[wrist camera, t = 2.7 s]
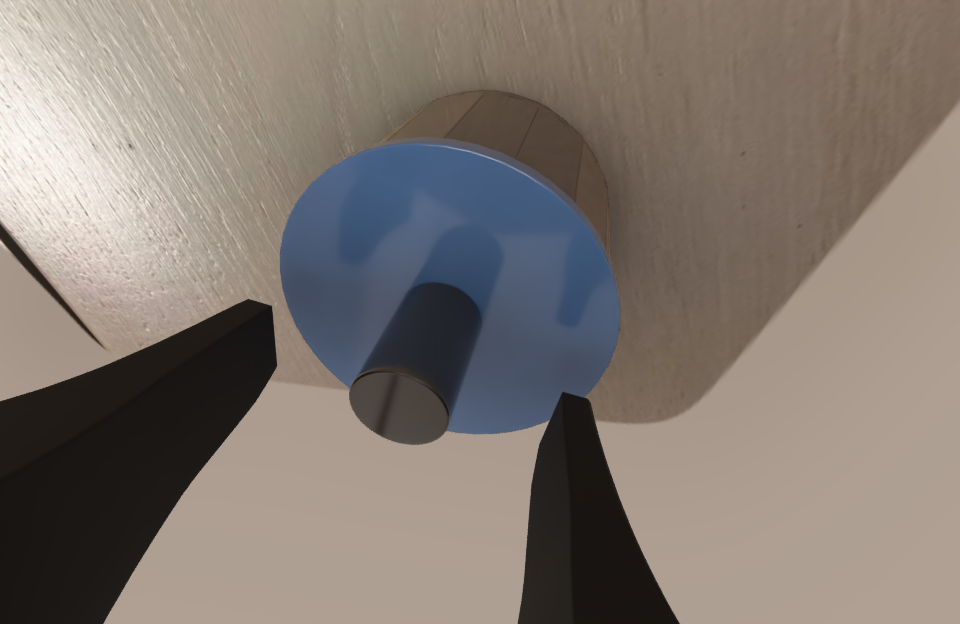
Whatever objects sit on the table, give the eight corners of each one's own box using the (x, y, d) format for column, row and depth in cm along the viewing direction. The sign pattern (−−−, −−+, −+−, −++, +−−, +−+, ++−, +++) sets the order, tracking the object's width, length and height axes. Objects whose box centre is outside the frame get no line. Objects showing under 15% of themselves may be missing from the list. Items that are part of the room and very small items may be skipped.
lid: (681, 189, 12) (715, 300, 8) (560, 441, 18) (548, 573, 14) (290, 84, 12) (150, 142, 8) (302, 364, 18) (223, 470, 14)
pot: (648, 129, 16) (666, 208, 11) (566, 334, 22) (553, 447, 17) (386, 60, 17) (290, 105, 12) (371, 278, 22) (302, 372, 17)
